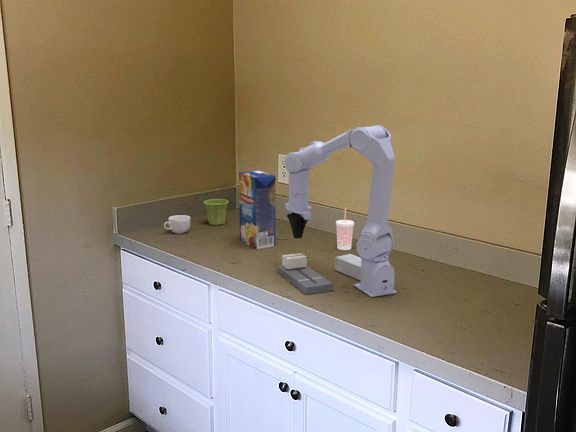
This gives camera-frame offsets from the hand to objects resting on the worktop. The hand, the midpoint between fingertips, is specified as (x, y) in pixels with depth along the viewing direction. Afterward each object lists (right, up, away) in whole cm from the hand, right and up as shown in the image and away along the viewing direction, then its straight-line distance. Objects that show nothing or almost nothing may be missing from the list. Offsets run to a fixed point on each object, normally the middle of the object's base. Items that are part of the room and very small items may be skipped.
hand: (297, 237), depth 181 cm
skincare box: (+13, -7, +2) cm, 15 cm away
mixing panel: (+2, -12, -9) cm, 15 cm away
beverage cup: (+16, -4, +23) cm, 28 cm away
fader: (-1, -8, -3) cm, 9 cm away
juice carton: (-13, -3, +27) cm, 31 cm away
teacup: (-43, 0, +40) cm, 59 cm away
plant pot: (-30, +3, +53) cm, 61 cm away
